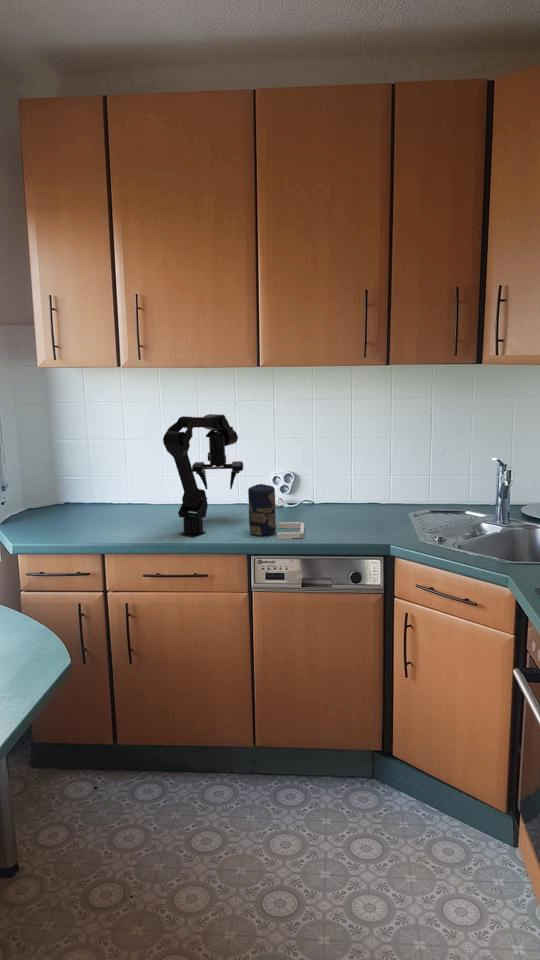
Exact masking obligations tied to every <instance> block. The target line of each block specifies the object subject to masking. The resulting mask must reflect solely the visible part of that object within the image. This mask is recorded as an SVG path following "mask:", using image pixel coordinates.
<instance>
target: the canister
mask: <svg viewBox="0 0 540 960" xmlns="http://www.w3.org/2000/svg"><path fill="white" fill-rule="evenodd" d="M247 493H248V497H247V498H248V522H249V523H248V524H249V532H250V533H251V534H252V535H256V536H268V535H271V534H274V533H275V532H276V531H277V524H276V523H277V522H276V519H277V518H276V489H275V487H274V486H272V485H268V484H265V483H264V484H263V483H259V484H258V483H257V484H255V485H252V486H250V487H249V488H248V490H247Z"/></svg>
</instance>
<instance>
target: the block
mask: <svg viewBox="0 0 540 960" xmlns="http://www.w3.org/2000/svg"><path fill="white" fill-rule="evenodd" d="M279 528H287V529H300V530H299V531H300V532H299V531H297V532H290V531H289V532H277V533H276V538H277V539H276V540H293V539H292V538H304V539H305V521H303V522H301V521H299V522H298V521H294V522H292V521H291V522H290V521H289V522H288V521H287V522H286V521H285V522H278V529H279Z"/></svg>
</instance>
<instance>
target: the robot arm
mask: <svg viewBox="0 0 540 960" xmlns="http://www.w3.org/2000/svg"><path fill="white" fill-rule="evenodd" d="M194 428H204V429H206V430H209V431H208V432H207V434H205V437H206V438H208V442H209V443H208V445H209V446H208V447H209V452H207V461H208V462H209V463H205V461H197V462H196V461H195V462H193V464H192V465H191V461H190V457H189V453H188V452H189V449H190V445H191V444H190V441H191V439H192V438H193V429H194ZM183 429H186V430H185V431H182V430H183ZM238 438H239V436H238V434H237V431H235V430H234V427H233V426H231V425H230V423H229V421H228V419H227V418H226V415H225V414H213V413H212V414H206V415H205V414H204V416H183V415H182V416H181V417H178V419H177V421H176V422H175V423H174V424H172V425H171V426H169V427H168V428H167V431H166V432H165V433H164V435H163V438H162V442H163V446H164V447H165V449H166V452H167V453H169V455H171V457H172V458H173V459H174V463H175V466H176V470H177V472H178V477H179V478H180V482H181V486H182V489H183V495H182V498H181V500H182V504H181V506H180V507H179V510H178V513H177V514H178V517H179V518H182V519H183V520H182V521H183V532H180V534H181V535H183V536H186V537H187V536H188V537H192V538H193V537H197V536H200V535H204V534H206V533H207V532H206V530H205V531H204V525H203V524H204V523H203V521H204V520H203V519H204V518H206V517H207V511H208V505H209V504H208V498H207V494H206V491H205V490H208V481H207V476H206V470H226V469H228V470H230V469H231V472H230V482H229V483H230V484H229V485H230V486H229V487H230V488H229V490H232V488H233V485H234V481H235V478H236V475H237V474H240V472H242V471H243V470H244V462H243V461H241V460H240V461H237V460H236V461H234V460H233V461H232V462H231V463H227V455H226V447H227V446H232V445H234V444H236V443H238ZM194 473H195V474H196V475H198V476H199V477H200V479H201V481H202V483H203V485H204V488H205V489H200V488H199V487H198V483H197V481H196V478H195V474H194Z"/></svg>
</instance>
